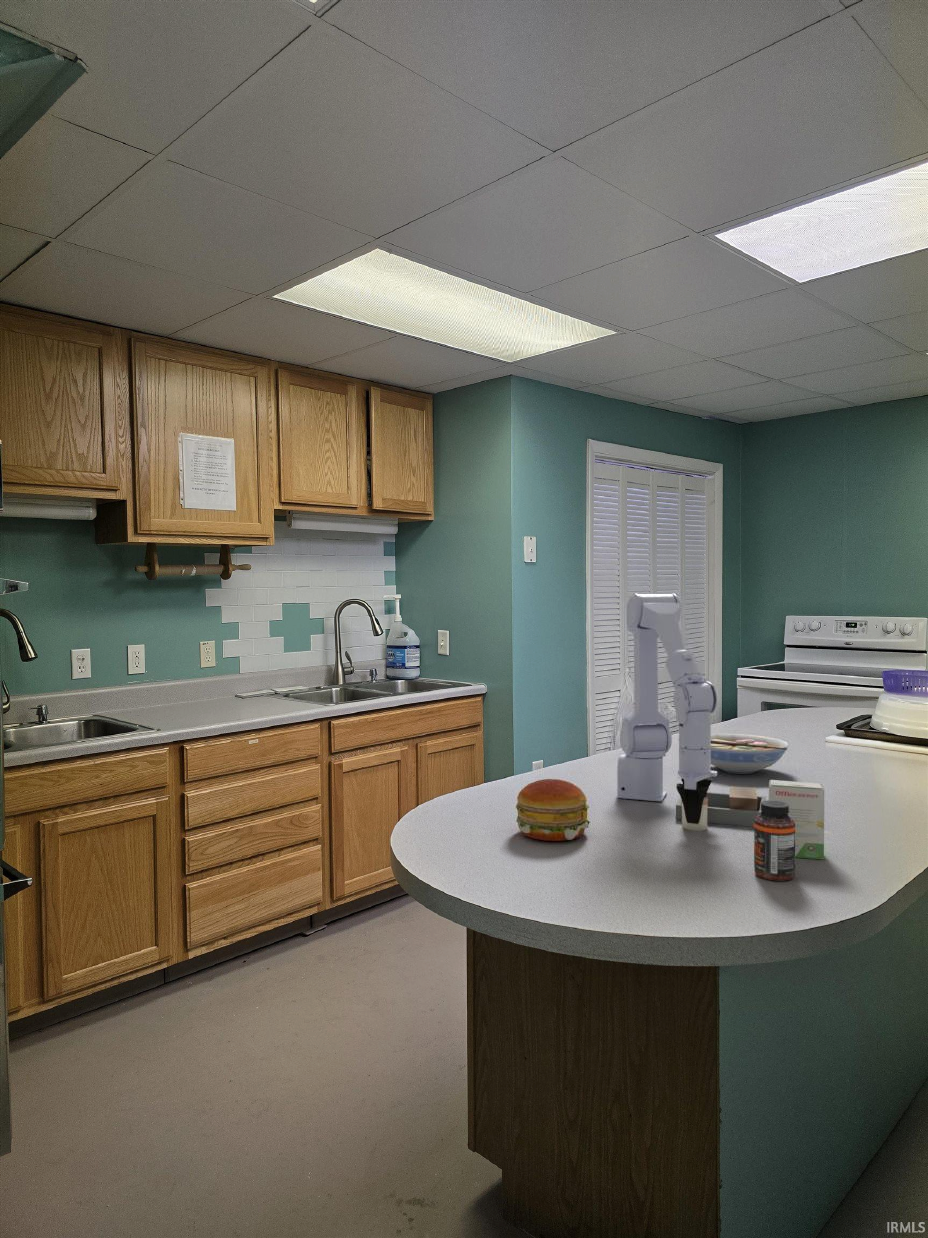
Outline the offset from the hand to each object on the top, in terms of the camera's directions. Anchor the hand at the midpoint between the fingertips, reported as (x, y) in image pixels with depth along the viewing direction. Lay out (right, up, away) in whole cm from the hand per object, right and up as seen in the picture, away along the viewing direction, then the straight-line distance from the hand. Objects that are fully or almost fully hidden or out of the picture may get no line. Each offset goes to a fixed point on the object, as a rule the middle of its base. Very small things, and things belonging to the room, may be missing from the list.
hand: (694, 819), depth 153 cm
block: (+11, -1, +7) cm, 13 cm away
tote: (+8, -1, +8) cm, 11 cm away
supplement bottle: (+5, -2, -27) cm, 27 cm away
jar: (0, -2, 0) cm, 2 cm away
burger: (-27, -2, -4) cm, 27 cm away
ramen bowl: (+25, 0, +48) cm, 54 cm away
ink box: (+12, -2, -16) cm, 20 cm away
